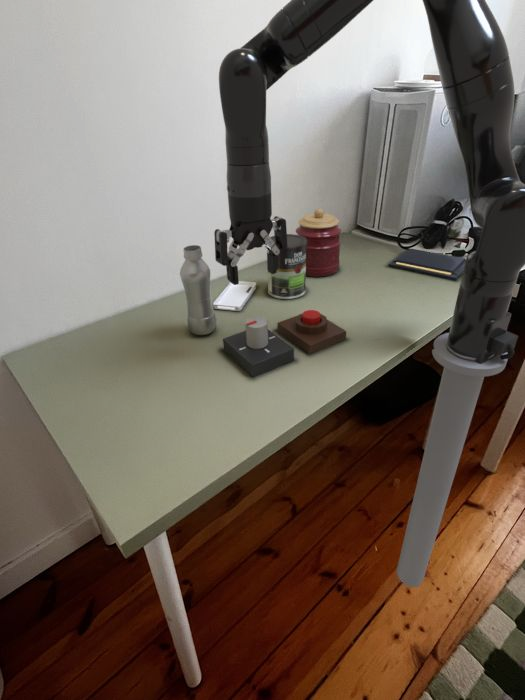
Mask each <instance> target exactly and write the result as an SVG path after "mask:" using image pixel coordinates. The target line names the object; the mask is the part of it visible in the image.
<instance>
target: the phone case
mask: <svg viewBox="0 0 525 700" xmlns="http://www.w3.org/2000/svg"><path fill="white" fill-rule="evenodd" d="M249 289H250V290H249ZM256 289H257V282H256V281H243V280H239V284H237V285H234V284H232V283H231V282H230V281H229V283H228V284H227V285H226V287H225V288H224V289H223V290H222V292H221V293H220V294H219V295H218V296H217V298H216V299H215V300H214V302H212V306H213V310H214V309H215V310H223V311H234V312H240V311H241V310H242V309H243V308H244V307H245V305H246V304H247V303H248V301H249V299H250V298H251V296H252V295H253V293H254V292H255V291H256Z"/></svg>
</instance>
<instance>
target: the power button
mask: <svg viewBox="0 0 525 700" xmlns="http://www.w3.org/2000/svg"><path fill="white" fill-rule="evenodd" d="M301 314H302V322H303V323H304V324H308V325H316V324H318V323H320V318H321V314H322V313H321V312H320V311H318V310H315V309H308V310H304V311H302V313H301Z"/></svg>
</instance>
